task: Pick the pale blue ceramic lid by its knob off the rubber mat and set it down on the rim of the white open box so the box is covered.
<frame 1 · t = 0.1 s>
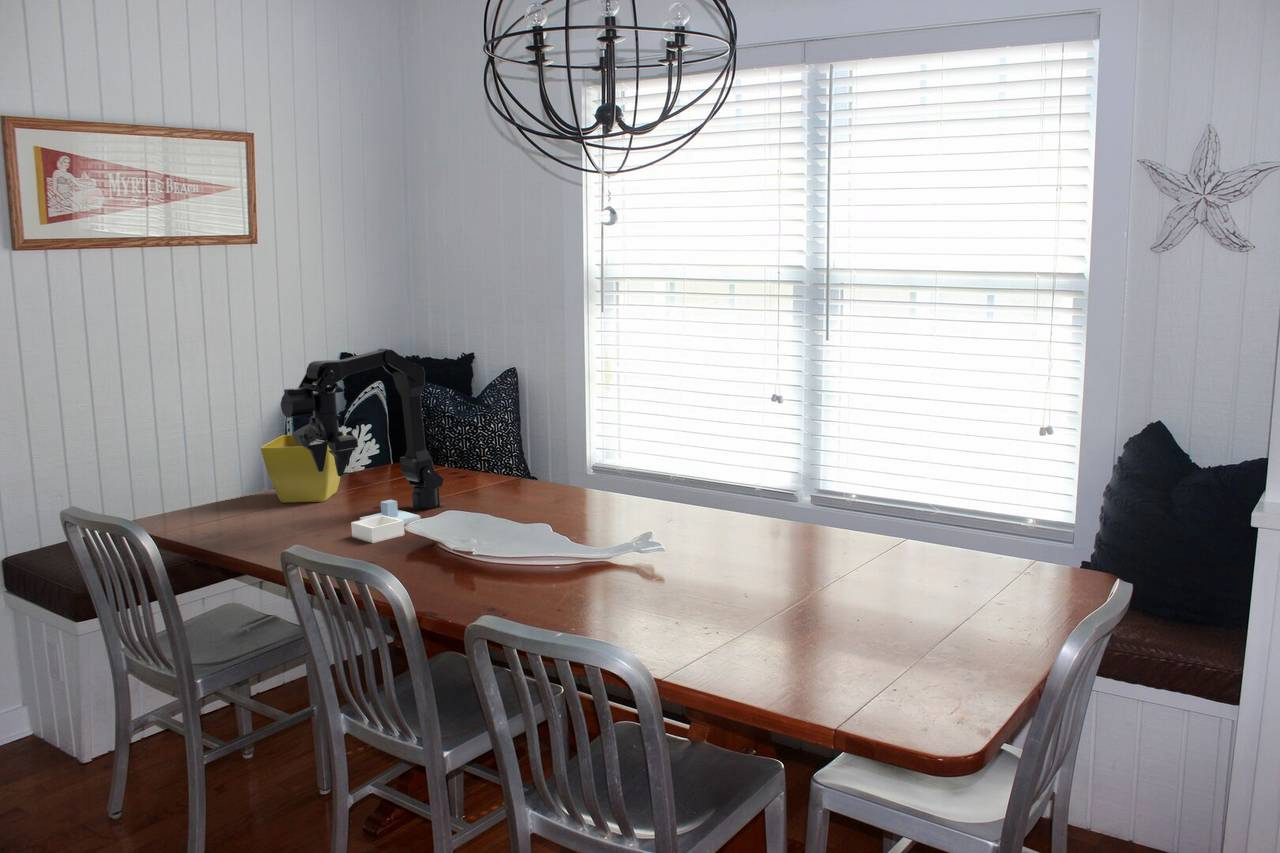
hand: (330, 473, 272), 15 cm above the table, fingers open, 9 cm apart
flower pot: (309, 498, 312), on the table
lid: (390, 521, 280), resting on mat
white open box: (378, 537, 267), on the table
mat: (390, 522, 280), on the table
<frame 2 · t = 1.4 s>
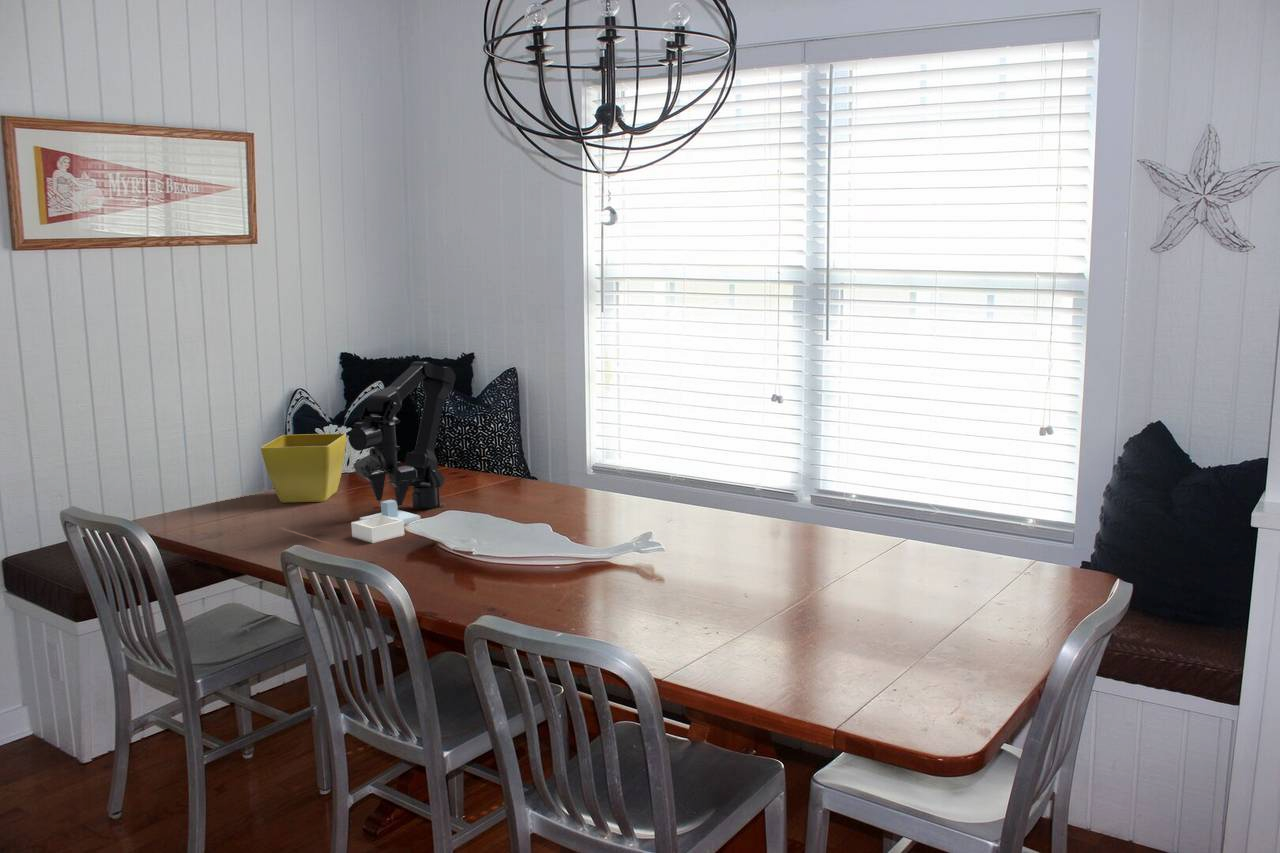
hand: (389, 503, 280), 5 cm above the table, fingers open, 9 cm apart
nothing on the table moved.
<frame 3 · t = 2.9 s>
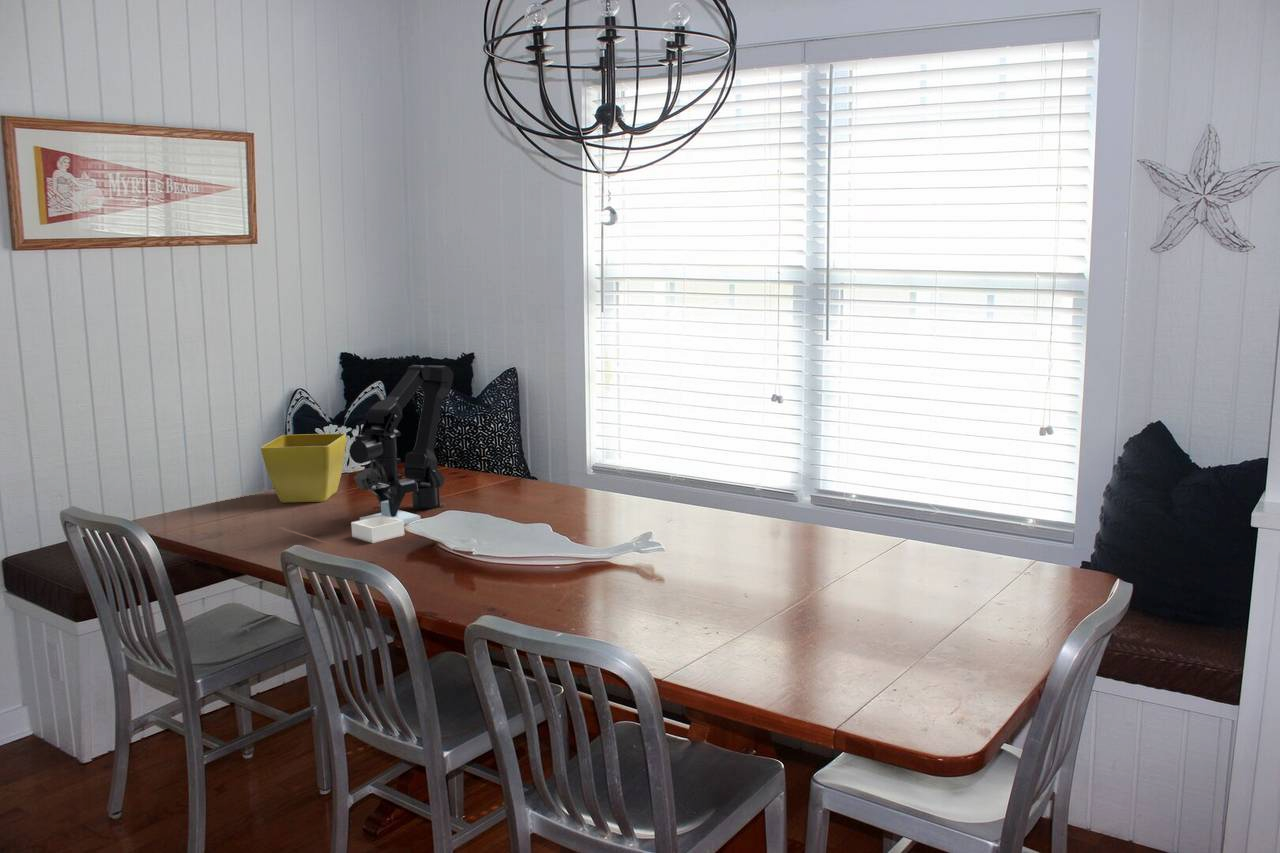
hand: (389, 515, 280), 2 cm above the table, fingers closed on lid, 3 cm apart
lid: (390, 521, 280), resting on mat, touching gripper
everything else where it was.
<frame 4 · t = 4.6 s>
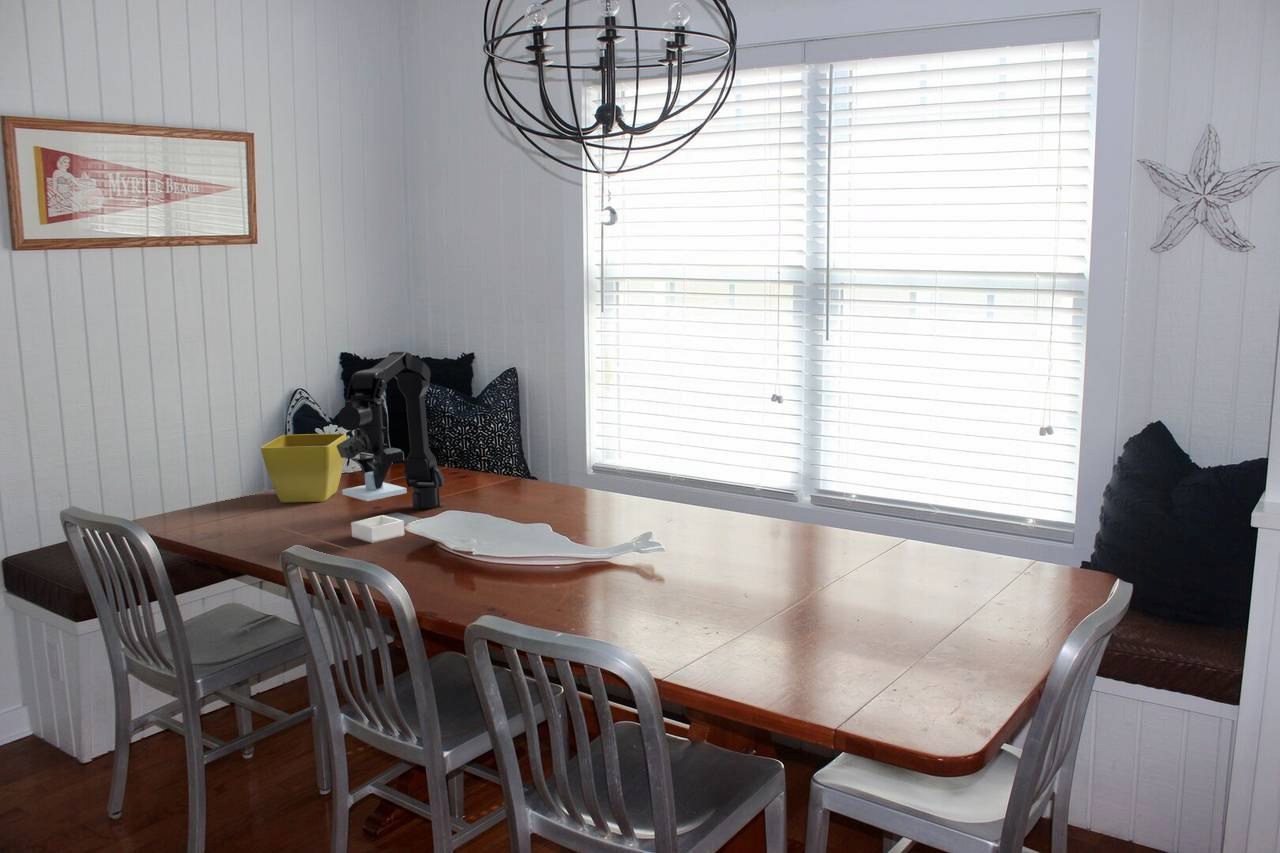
hand: (374, 487, 265), 12 cm above the table, fingers closed on lid, 3 cm apart
lid: (374, 493, 265), point 11 cm above the table, touching gripper
everything else where it was.
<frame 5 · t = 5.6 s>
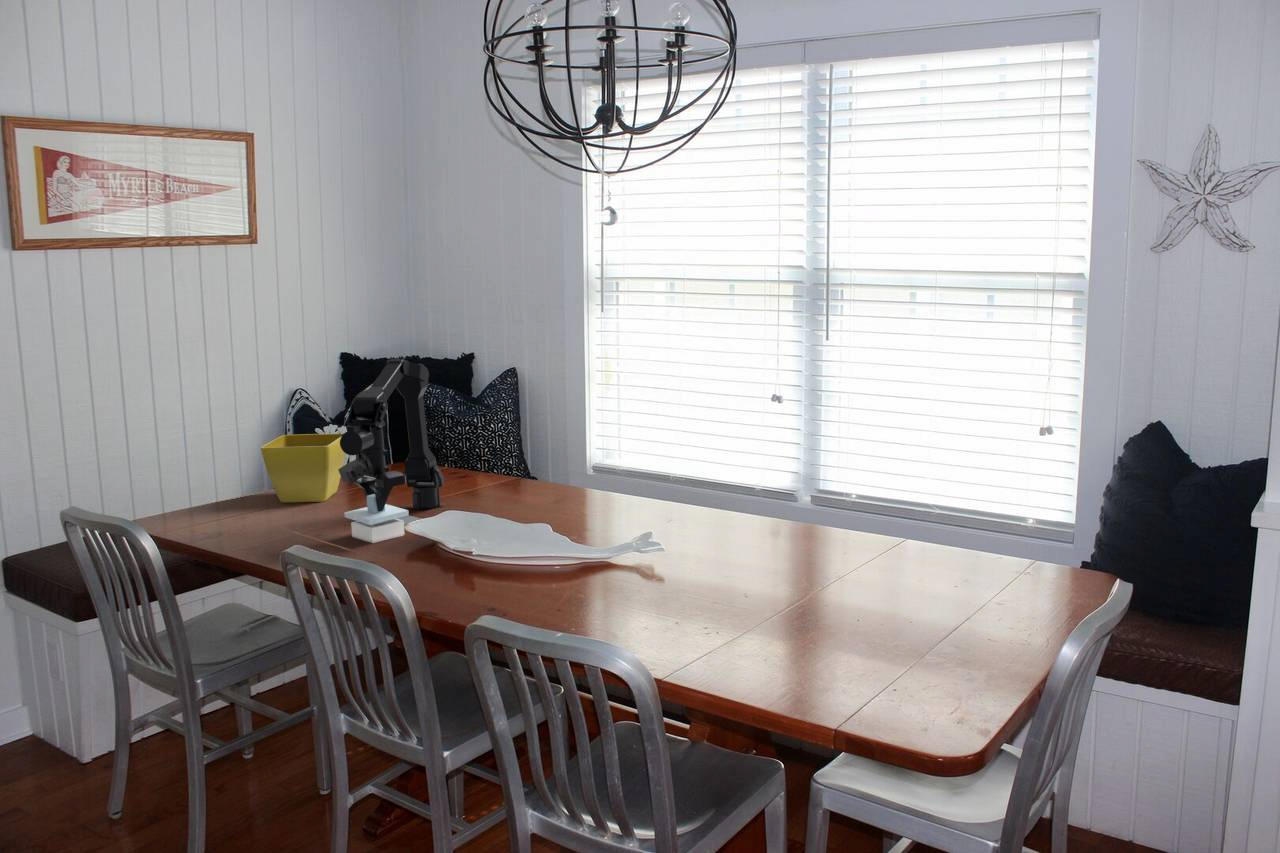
hand: (376, 510, 265), 7 cm above the table, fingers closed on lid, 3 cm apart
lid: (376, 516, 266), point 5 cm above the table, touching gripper
everything else where it was.
when the fingers open (7 cm above the table, at t = 6.2 s): lid drops 1 cm, resting on white open box.
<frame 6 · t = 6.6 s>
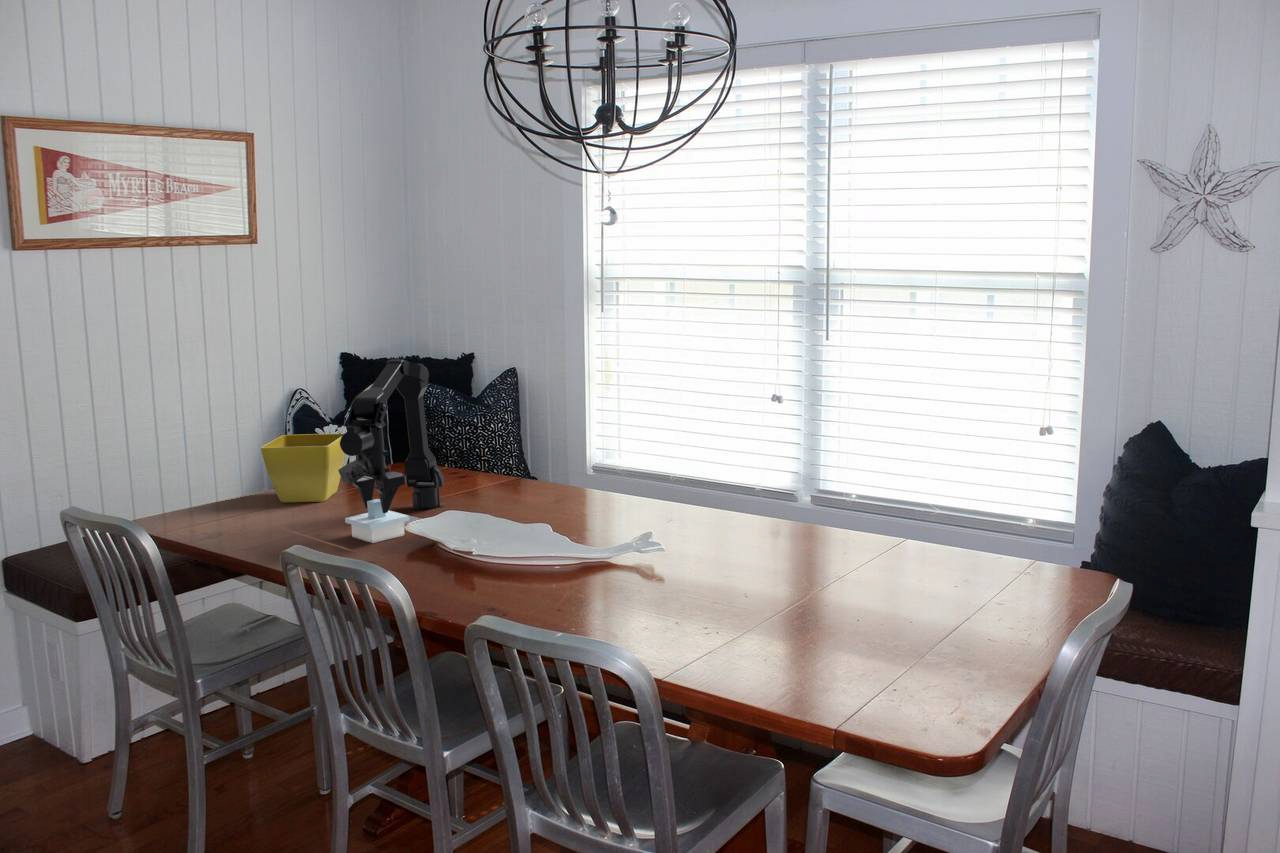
hand: (376, 510, 265), 7 cm above the table, fingers open, 7 cm apart
lid: (377, 521, 266), point 4 cm above the table, touching white open box
everything else where it was.
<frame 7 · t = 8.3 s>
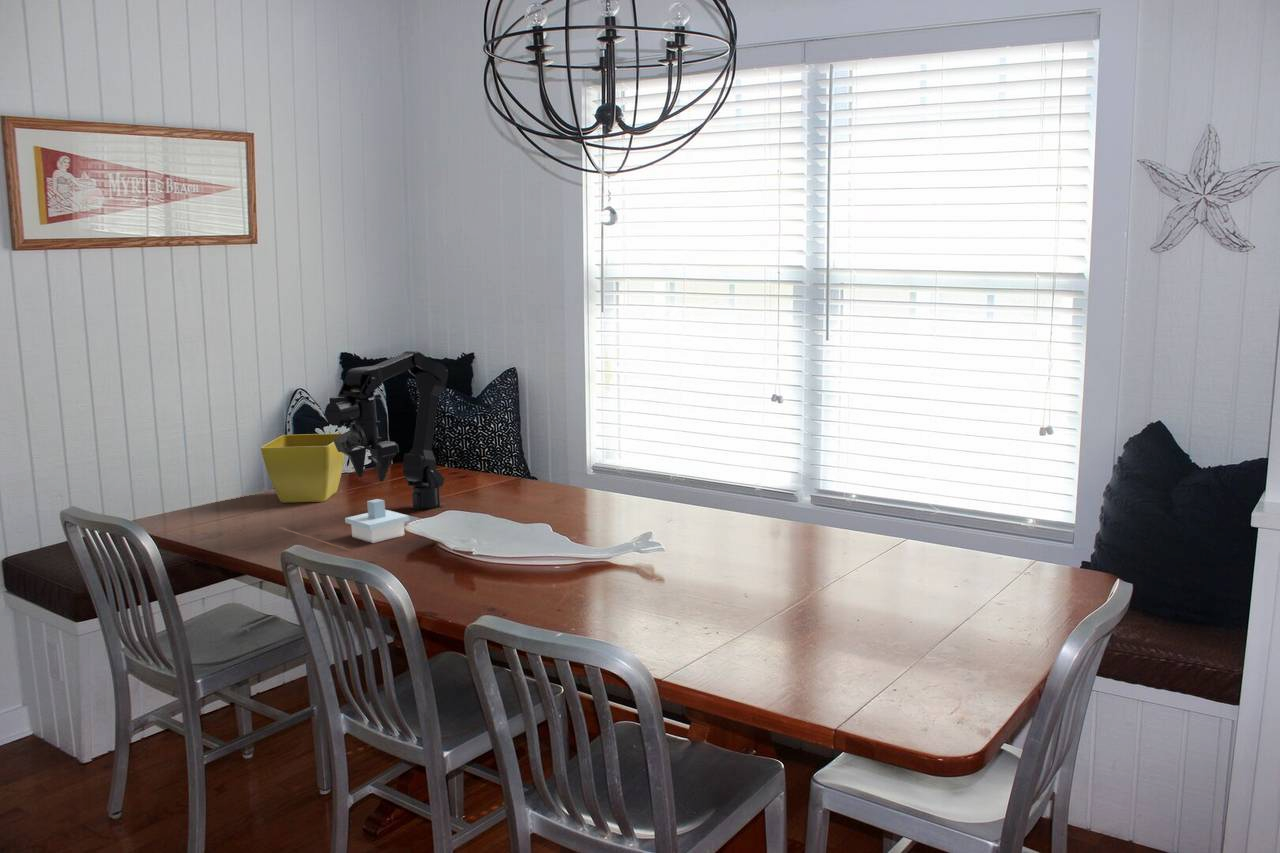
hand: (370, 479, 276), 12 cm above the table, fingers open, 9 cm apart
nothing on the table moved.
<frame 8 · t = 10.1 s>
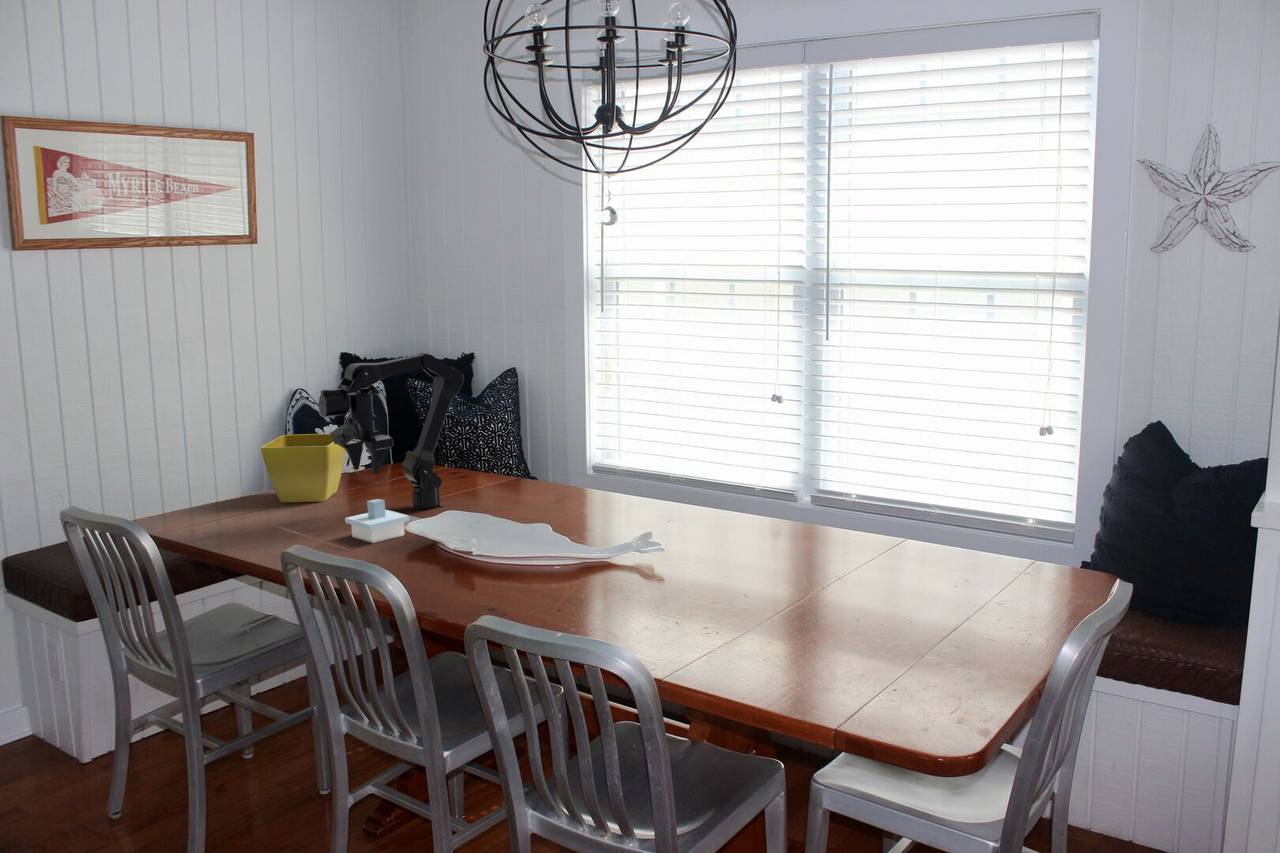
hand: (366, 471, 283), 13 cm above the table, fingers open, 9 cm apart
nothing on the table moved.
at the end: lid 0.0 cm off-centre on the white open box, point 4.0 cm above the white open box's base; lid tilted 0°; the gripper is holding nothing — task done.
